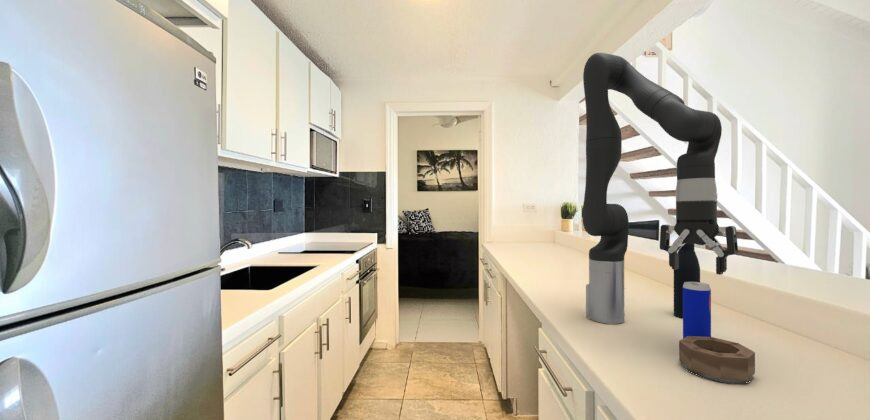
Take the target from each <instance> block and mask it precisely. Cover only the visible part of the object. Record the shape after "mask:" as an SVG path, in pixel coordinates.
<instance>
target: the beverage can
mask: <svg viewBox="0 0 870 420" xmlns="http://www.w3.org/2000/svg"><path fill="white" fill-rule="evenodd" d="M687 336H700V337H712V289H711V286H710V284H709V283H706V282H701V281H700V282H684V285H683V319H682V339H683V338H685V337H687Z"/></svg>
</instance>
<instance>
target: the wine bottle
mask: <svg viewBox="0 0 870 420" xmlns="http://www.w3.org/2000/svg"><path fill="white" fill-rule="evenodd" d="M677 253H679V269H677V270H674V269H673V316H674V317H676V318H678V317H679V318H680V319H682V318H683V285H684V282H700V283H701V266H700V262H699V258H698V256H697V253H696V251H695V244H686V243H685V244H684V245H683V246H682V247H681V248H680V249H679V250H678V251H677ZM679 318H678V319H679Z"/></svg>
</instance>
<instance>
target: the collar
mask: <svg viewBox="0 0 870 420" xmlns="http://www.w3.org/2000/svg"><path fill="white" fill-rule="evenodd" d="M678 343H679V345H678V359H679V360H678V361H680V362H681V366H682V365H683V366H682V367H683V368H684V369H685V370H686V369H687V370H688V372H689V371H690V372H689V373H691V372H692V373H691V374H693V373H694V374H693V375H695V374H697V375H699V376H698V377H700V376H701V377H700V378H703V377H704V378H703V379H706V378H707V380H709V379H711V380H710V381H713V380H715V381H714V382H717V381H721V382H720V383H723V382H726V383H725V384H730V383H745V384H747V383H746V382H749V381H751V380H752V381H753V376H754V375H755V374H756V352H755V351H753V349H750V348H748V347H746V346H744V345H742V344H740V343H739V342H735V341H730V340H725V339H721V338H717V337H714V336H711V337H700V336H687V337H685V338H683V337H682V338H681V339H680V340H679V341H678ZM687 370H686V371H687ZM697 375H696V376H697ZM752 381H751V382H752ZM749 383H750V382H749Z"/></svg>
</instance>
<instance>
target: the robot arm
mask: <svg viewBox="0 0 870 420" xmlns="http://www.w3.org/2000/svg"><path fill="white" fill-rule="evenodd" d="M582 77H583V78H582V80H583V82H582V83H583V91H584V99H585V120H586V122H585V123H586V125H585V126H586V128H585V129H586V132H585V133H586V134H585V135H586V137H585V161H586V163H585V168H586V169H585V187H584V199H583V205H582V206H583V207H582V225H583V228H584V231H585V232H586V233H587V234H588V235H589V236H592V237H600V240H599V241H598V243H597V244H596V245H594V246H593V247H591V248H590V249H589V250H588V284H586V285H585V318H588V319H590V320H592V321H593V322H598V323H602V324H609V325H612V324H613V325H616V324H617V325H618V324H623V323H625V317H626V315H625V314H626V313H625V255H626V253H627V250H628V246H629V245H628V243H629V226H630V225H629V224H630V223H629V222H630V221H629V215H628V212H627V210H626V209H625V207H624V206H622V205H621V204H619V203H618V204H617V203H608V201H607V200H608V198H607V197H608V187H609V183H610V181H611V178H612V177H613V175H614V173H615V171H616V169H617V168H618V166H619V164H620V161H621V159H622V152H623V151H622V150H623V149H622V146H623V145H622V143H623V141H622V140H623V138H622V131H621V128H620V125H619V123H618V120H617V118H616V117H615V115H614V112H613V110H612V107H611V105H610V99H609V90H611V91H616V92H618V93H621V94H623V95H625V96H627V97H628V98H629V99H630V100H631V101H632V104H633V105H634V106H635V107H636V108H637V110H639V111H640V113H643V114H644V115H645V116H647V117H649V118H650V119H651V120H653V121H654V122H656V123H657V124H658V125H659V126H660V127H661V128H662V130H663V131H664V132H665V133H666V134H667V135H669V136H670V137H671V138H672V139H675V140H678V141H680V142H685V143H688V144H687V148H686V152H685V153H683V154H680V156H678V158H677V160H676V186H675V225H670V224H661V225H660V229H659V230H660V233H659V249H660V250H662V251H666V252H667V253H668V266H669V267H671V270H673V271H674V270H677V269H679V253H678V251H679V249H680V248H681V247H682V246H683V245H684V244H685V243H686V244H694V245H698V246H705V245H707V246H708V248H710V249H711V250H712V251H713V252H714V254H716V255H717V256H716V257H715V274H716V275H719V276H722V275H724V273H726V272H727V269H728V267H727V266H728V265H727V264H728V260H727V259H728V257H729V256H733V255H736V254H738V253H739V247H738V246H739V245H738V236H737V233H738V232H737V227H736V226H735V225H728V226H720V225H719V224H718V190H717V183H716V163H715V160H716V156H717V153H718V151H719V145H720V142H721V139H722V131H723V128H722V122H721V119H720V117H719V116H718V115H717V114H715V113H714V112H711V111H705V110H699V109H694V108H693V107H692V108H691V107H689V106H687V105H686V104H685V101H684V100H683V99H682V98H681V97H680V96H678V95H677V94H675V93H673V92H672V91H670V90H668V89H666V88H665V87H663V86H661V85H659V84H657V83H656V82H653V81H652V80H650V79H649V78H647V77H646V76H644V75H643V74H642V73H640V72H639V71H638V70H637V68H635V67H634V66H633V65H632V64H631V63H630V62H629V61H628V60H626V59H625V58H624V57H623V56H619V55H615V54H612V53H606V52H594V53H593V54H591V55H590V56H589V57H588V58H587V60H586V62H585V64H584V68H583V74H582ZM673 232H675V233H676V235H677V236H678V237H677V238H676V239H675V240H674V241H673V243H672V244H671V245H670V243H671V234H673ZM719 233H721V234H722V236H723V237H725V238H726V241H725V242H726V249H725V248H724V247H723V246H722V244H721V242H720V241H719V240H718V239H717V238H716V237H717V235H718V234H719Z"/></svg>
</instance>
